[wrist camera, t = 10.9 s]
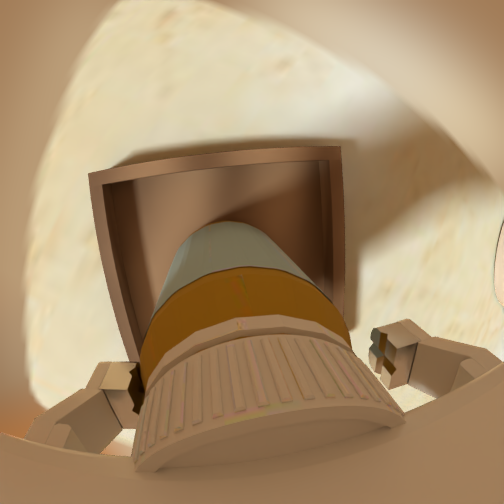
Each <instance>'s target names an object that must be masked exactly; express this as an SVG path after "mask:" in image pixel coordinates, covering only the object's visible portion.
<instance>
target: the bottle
mask: <svg viewBox="0 0 504 504" xmlns="http://www.w3.org/2000/svg"><path fill="white" fill-rule="evenodd" d="M140 369H141V379H142V383H143V386H144V390H145V398H144V404H143V405H142V406H141V410H140V414H139V418H138V423H137V428H136V433H135V438H134V443H133V449H132V454H131V457H133V463H135V472H156V471H157V470H158V469H159V468H173V467H199V466H213V465H224V464H233V463H241V462H249V461H256V460H262V459H268V458H273V457H279V456H284V455H289V454H293V453H298V452H302V451H306V450H311V449H315V448H318V447H322V446H326V445H330V444H333V443H337V442H340V441H343V440H346V439H350V438H353V437H356V436H359V435H362V434H365V433H368V432H370V431H373V430H376V429H379V428H381V427H384V426H388V427H390V428H394V427H396V426H399V425H401V424H403V423H406V421H405V419H404V418H403V416H405V413H404V412H403V411H402V410H401V408H400V407H399V406H398V404H397V403H396V402H395V401H394V399H393V398H392V397H391V396H390V394H389V393H388V392H387V391H386V389H385V388H384V387H383V386H382V384H381V383H380V382H379V381H378V379H377V378H376V377H375V376H374V374H373V373H372V372H371V371H370V369H369V368H368V367H367V366H366V365H365V364H364V363H363V362H362V360H361V359H359V358H357V356H356V355H355V353H354V352H353V350H352V346H351V340H350V335H349V332H348V329H347V327H346V324H345V322H344V320H343V317H342V315H341V314H340V312H339V311H338V309H337V308H336V307H335V306H334V304H333V303H332V301H331V300H330V299H329V298H328V297H327V296H326V295H325V294H324V293H323V292H322V291H321V290H320V289H319V288H318V287H317V286H316V285H315V284H314V282H313V281H312V280H311V279H310V278H309V277H308V276H307V275H306V274H305V273H304V272H303V271H302V270H301V269H300V268H299V267H298V266H297V265H296V264H295V263H294V262H293V261H292V260H291V259H290V258H289V257H288V256H287V255H286V254H285V253H284V252H283V251H282V250H281V249H280V248H279V246H278V245H277V244H276V243H275V242H274V241H272V240H271V239H270V238H269V237H268V236H267V235H266V234H265V233H264V232H262V231H261V230H259V229H257V228H255V227H253V226H251V225H249V224H247V223H243V222H236V221H220V222H215V223H210V224H207V225H205V226H203V227H201V228H200V229H198V230H196V231H194V232H193V233H192V234H190V235H189V237H188V238H187V239H186V240H185V241H184V242H183V243H182V244H181V246H180V247H179V249H178V250H177V252H176V255H175V257H174V259H173V262H172V264H171V267H170V269H169V272H168V274H167V277H166V280H165V282H164V285H163V287H162V290H161V293H160V295H159V298H158V301H157V303H156V306H155V309H154V312H153V314H152V317H151V320H150V323H149V326H148V328H147V331H146V334H145V337H144V340H143V346H142V349H141V353H140Z"/></svg>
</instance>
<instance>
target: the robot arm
mask: <svg viewBox="0 0 504 504" xmlns="http://www.w3.org/2000/svg"><path fill="white" fill-rule="evenodd" d="M494 284H495V292H496V296H497V299H498V301H499V302H500V303H501V304H502V305H503V307H504V224H503V227H502V230H501V234H500V238H499V242H498V247H497V253H496V260H495V271H494ZM370 339H371V340H372V341H373V344H372V346H371V347H370V348H369V356H368V357H369V363H370V365H371V368H372V369H373V371H374V372H376V373H378V374H381V377H380V380H381V381H382V382H383V384H384V385H385V386H386V388H387V389H388V390H390V389H393V388H396V387H399V386H402V385H405V384H408V385H410V386H412V387H414V388H416V389H418V390H420V391H422V392H424V393H426V394H428V395H430V396H432V397H435V398H437V399H435V400H433V401H431V402H428V403H426V404H424V405H422V406H419V407H417V408H415V409H412V410H410V411H408V412H405V416H403V418H404V419H405V421H406V423H403V424H401V425H399V426H396V427H394V428H390V427H388V426H384V427H381V428H379V429H376V430H373V431H370V432H368V433H365V434H362V435H359V436H356V437H353V438H350V439H346V440H343V441H340V442H337V443H333V444H330V445H326V446H322V447H318V448H315V449H311V450H306V451H302V452H298V453H293V454H289V455H284V456H279V457H273V458H268V459H262V460H256V461H249V462H241V463H233V464H224V465H213V466H199V467H173V468H159V469H158V470H157V471H156V472H135V463H133V457H128V456H115V455H105V454H100V453H101V452H102V451H103V450H104V448H106V447H107V446H108V445H109V444H110V442H111V441H112V440H113V439H114V438H115V437H116V436H117V435H118V434H119V433H120V432H121V431H122V430H123V429H136V428H137V423H138V418H139V414H140V410H141V406H142V405H143V404H144V398H145V390H144V386H143V383H142V379H141V369H140V362H139V361H135V362H100V363H98V365H97V367H96V369H95V371H94V373H93V374H92V376H91V378H90V380H89V382H88V384H87V386H86V388H85V389H80V390H79V391H77V392H76V393H74V394H73V395H71V396H69V397H68V398H66V399H65V400H63V401H62V402H60V403H58V404H57V405H55V406H54V407H52V408H51V409H49V410H47V411H46V412H44V413H43V414H41V415H39V416H38V417H36V418H35V419H34V421H33V423H32V425H31V426H30V428H29V430H28V432H27V434H26V435H25V438H24V439H21V438H18V437H14V436H11V435H8V434H4V433H1V432H0V504H504V362H502V361H501V360H500V359H498V358H497V357H496V356H495V355H493V354H492V353H491V352H490V351H488V350H487V349H485V348H481V347H476V346H472V345H468V344H464V343H459V342H455V341H451V340H447V339H443V338H439V337H431V336H430V335H428V334H427V333H426V332H425V331H424V330H422V329H421V328H420V327H419V326H418V325H416V324H415V323H414V322H413V321H411V320H410V319H404V320H401V321H398V322H395V323H392V324H388V325H385V326H381V327H377V328H373V330H372V332H371V338H370Z"/></svg>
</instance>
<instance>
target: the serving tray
mask: <svg viewBox="0 0 504 504" xmlns="http://www.w3.org/2000/svg"><path fill="white" fill-rule="evenodd" d="M88 177H89V186H90V194H91V202H92V209H93V216H94V222H95V228H96V234H97V240H98V245H99V250H100V255H101V260H102V265H103V269H104V274H105V278H106V282H107V286H108V290H109V294H110V298H111V302H112V306H113V310H114V313H115V317H116V320H117V324H118V327H119V330H120V334H121V337H122V340H123V343H124V346H125V349H126V352H127V355H128V358H129V361H130V362H135V361H139V362H140V353H141V349H142V346H143V340H144V337H145V334H146V331H147V328H148V326H149V323H150V320H151V317H152V314H153V312H154V309H155V306H156V303H157V301H158V298H159V295H160V293H161V290H162V287H163V285H164V282H165V280H166V277H167V274H168V272H169V269H170V267H171V264H172V262H173V259H174V257H175V255H176V252H177V250H178V249H179V247H180V246H181V244H182V243H183V242H184V241H185V240H186V239H187V238H188V237H189V235H190V234H192V233H193V232H194V231H196V230H198V229H200V228H201V227H203V226H205V225H207V224H210V223H215V222H220V221H236V222H243V223H247V224H249V225H251V226H253V227H255V228H257V229H259V230H261V231H262V232H264V233H265V234H266V235H267V236H268V237H269V238H270V239H271V240H272V241H274V242H275V243H276V244H277V245H278V246H279V248H280V249H281V250H282V251H283V252H284V253H285V254H286V255H287V256H288V257H289V258H290V259H291V260H292V261H293V262H294V263H295V264H296V265H297V266H298V267H299V268H300V269H301V270H302V271H303V272H304V273H305V274H306V275H307V276H308V277H309V278H310V279H311V280H312V281H313V282H314V284H315V285H316V286H317V287H318V288H319V289H320V290H321V291H322V292H323V293H324V294H325V295H326V296H327V297H328V298H329V299H330V300H331V301H332V303H333V304H334V306H335V307H336V308H337V309H338V311H339V312H340V314H341V315H342V317H343V313H344V284H345V224H344V195H343V177H342V162H341V149H340V146H323V147H287V148H267V149H252V150H240V151H228V152H218V153H209V154H200V155H192V156H184V157H176V158H169V159H163V160H156V161H150V162H144V163H138V164H132V165H127V166H121V167H116V168H111V169H106V170H101V171H97V172H92V173H88Z"/></svg>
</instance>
